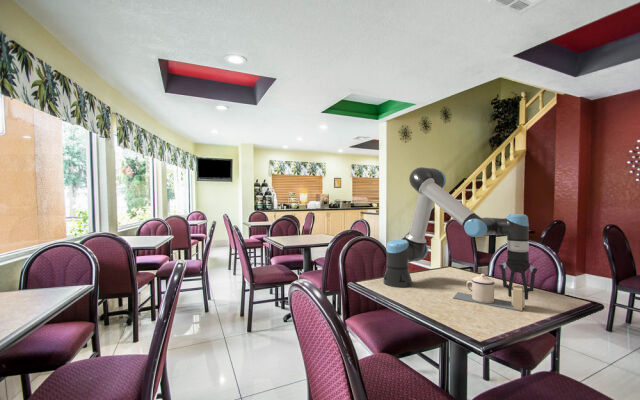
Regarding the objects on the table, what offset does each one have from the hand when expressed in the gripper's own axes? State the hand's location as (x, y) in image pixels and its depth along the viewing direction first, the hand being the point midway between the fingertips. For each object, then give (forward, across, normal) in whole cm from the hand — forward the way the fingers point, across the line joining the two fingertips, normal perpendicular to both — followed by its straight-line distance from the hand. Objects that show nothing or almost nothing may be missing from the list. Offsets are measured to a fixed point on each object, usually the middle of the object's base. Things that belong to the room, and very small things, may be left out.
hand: (518, 305), depth 120 cm
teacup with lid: (0, -14, 0) cm, 14 cm away
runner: (+1, -12, 0) cm, 12 cm away
